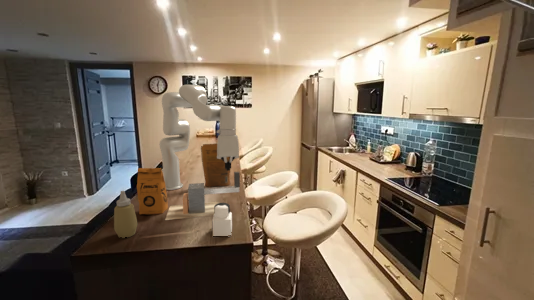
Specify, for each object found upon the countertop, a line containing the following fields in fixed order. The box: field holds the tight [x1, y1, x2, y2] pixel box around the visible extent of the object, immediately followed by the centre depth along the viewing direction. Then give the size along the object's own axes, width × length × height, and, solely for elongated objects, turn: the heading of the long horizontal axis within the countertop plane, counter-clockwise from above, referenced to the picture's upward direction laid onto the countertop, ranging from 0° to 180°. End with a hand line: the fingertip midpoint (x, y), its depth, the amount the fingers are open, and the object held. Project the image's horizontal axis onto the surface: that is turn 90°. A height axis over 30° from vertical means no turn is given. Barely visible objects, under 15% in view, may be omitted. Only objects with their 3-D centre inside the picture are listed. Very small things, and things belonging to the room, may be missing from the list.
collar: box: [182, 192, 189, 214], centre depth 117 cm, size 7×2×7 cm, turn 14°
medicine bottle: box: [211, 202, 233, 237], centre depth 98 cm, size 7×7×12 cm
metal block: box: [187, 182, 206, 214], centre depth 117 cm, size 8×7×12 cm
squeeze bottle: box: [113, 190, 138, 239], centre depth 96 cm, size 8×8×18 cm
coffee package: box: [136, 167, 169, 216], centre depth 116 cm, size 10×12×22 cm
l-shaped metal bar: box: [204, 171, 241, 195], centre depth 119 cm, size 2×20×10 cm, turn 104°
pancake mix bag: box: [200, 142, 231, 188], centre depth 155 cm, size 7×19×28 cm, turn 100°
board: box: [164, 201, 220, 221], centre depth 118 cm, size 16×24×1 cm, turn 104°
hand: (228, 169), depth 119 cm, fingers closed
